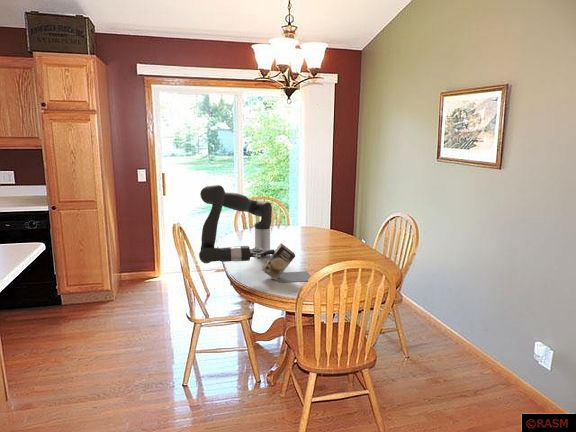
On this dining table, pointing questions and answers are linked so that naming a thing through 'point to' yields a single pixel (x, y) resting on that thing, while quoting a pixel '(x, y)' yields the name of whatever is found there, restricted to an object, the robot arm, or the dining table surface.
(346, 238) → the dining table surface
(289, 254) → the coffee box
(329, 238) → the dining table surface
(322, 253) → the dining table surface
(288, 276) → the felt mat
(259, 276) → the dining table surface
